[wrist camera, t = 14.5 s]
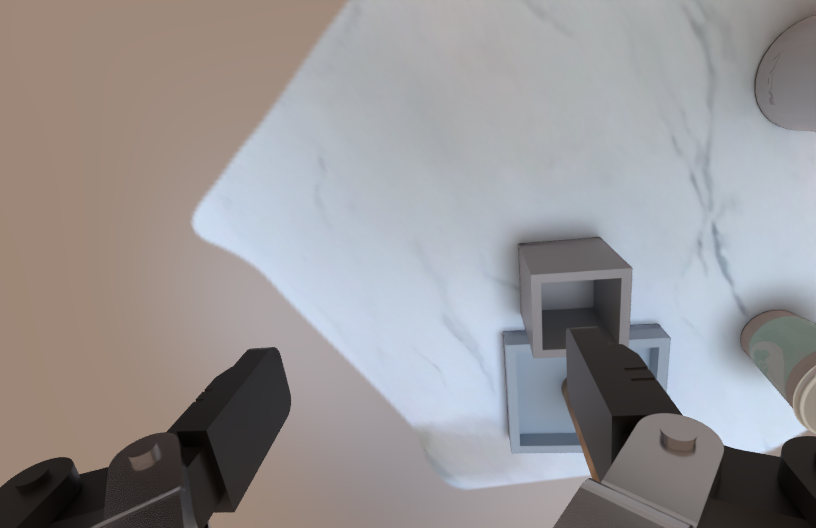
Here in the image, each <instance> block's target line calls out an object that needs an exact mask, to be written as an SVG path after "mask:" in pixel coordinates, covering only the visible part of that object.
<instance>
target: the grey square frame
mask: <svg viewBox="0 0 816 528" xmlns="http://www.w3.org/2000/svg"><path fill="white" fill-rule="evenodd" d="M518 250H519V275H520V300H521V316H522V319H523V323H524V326H525V330H526V334H527V337H528V341H529V344H530V348H531V351H532V355H533V358H558V357H566V330H567V328H577V327H592V326H597V327H598V328H599V329H600V331H601V332H602V334H603V336H604V337H605V339H606V340H607V342H608V344H609V345H611V344H623V345H625V346H626V347H628V348H629V332H630V311H631V290H632V269H633V268H632V267H631V266H630V265H629V264H628V263H627V262H626V261H625V260H624V259H622V258H621V257H620V256H619V255H618V254H617V253H616V252H615V251H614V250H613V249H612V248H611V247H610V246H609V245H608V244H607V243H606V242H605V241H604V240H603V239H602V238H600V237H597V238H585V239H572V240H559V241H546V242H534V243H521V244H518Z"/></svg>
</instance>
